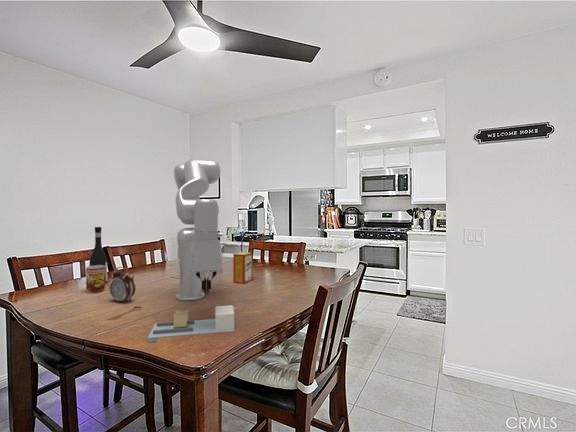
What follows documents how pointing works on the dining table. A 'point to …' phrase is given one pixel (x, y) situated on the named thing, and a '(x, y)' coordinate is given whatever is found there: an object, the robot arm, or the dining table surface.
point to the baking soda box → (242, 267)
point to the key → (124, 313)
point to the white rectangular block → (224, 317)
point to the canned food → (95, 279)
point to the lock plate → (183, 329)
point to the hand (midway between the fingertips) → (206, 291)
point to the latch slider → (181, 319)
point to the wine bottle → (98, 252)
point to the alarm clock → (122, 285)
